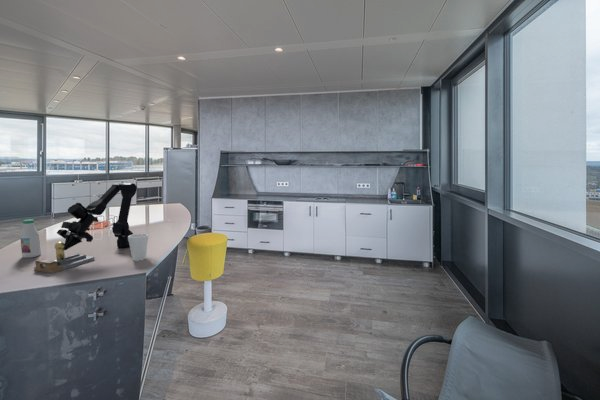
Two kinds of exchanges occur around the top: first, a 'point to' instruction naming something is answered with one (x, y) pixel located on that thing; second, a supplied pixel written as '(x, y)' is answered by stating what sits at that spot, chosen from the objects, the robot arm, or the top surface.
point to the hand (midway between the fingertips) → (64, 249)
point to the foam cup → (138, 246)
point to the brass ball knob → (59, 253)
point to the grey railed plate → (61, 263)
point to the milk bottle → (30, 240)
